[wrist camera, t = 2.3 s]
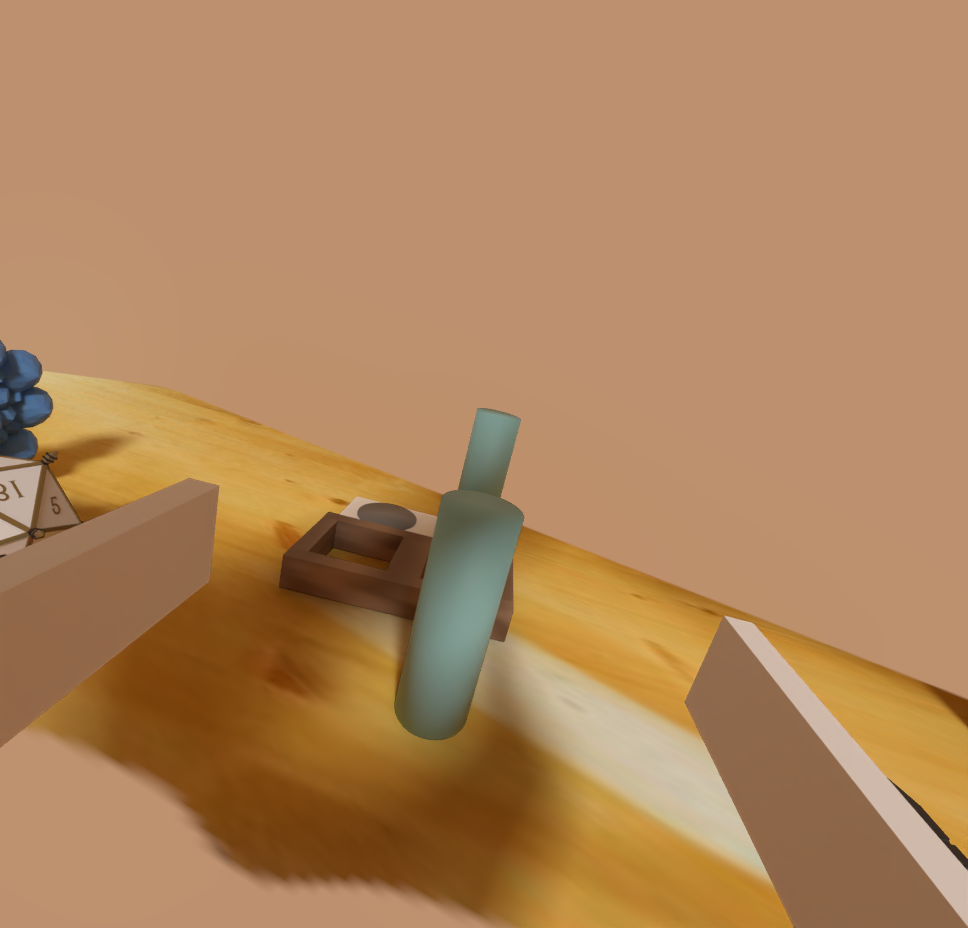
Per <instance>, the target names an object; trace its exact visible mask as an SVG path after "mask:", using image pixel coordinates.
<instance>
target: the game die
mask: <svg viewBox="0 0 968 928" xmlns="http://www.w3.org/2000/svg"><path fill="white" fill-rule="evenodd" d="M57 453H58V451H54V452H50V453H46V455H45V456H43V459H42V460H41V461H37V460H30V459H23V458H16V457H8V456H1V455H0V555H3V554H6V555H8V554H11V553H13V552H16V551H18V550H20V549H23V548H25V547H27V546H30V545H32V544H34V543H37V542H39V541H42V540H44V539H46V538H49V537H51V536H53V535H56V534H58V533H61V532H63V531H65V530H68V529H70V528H72V527H75V526H77V525H79V524H82V523H84V522H82V521H81V520H80V518H79V516H78V515H77V513H76V511H75V510H74V508H73V506H72V505H71V503H70V501H69V500H68V498H67V496H66V495H65V493H64V491H63V489H62V488H61V486H60V484H59V483H58V481H57V479H56V478H55V476H54V474H53V473H52V471H51V469H50V468H49V466H48V464H49V463H51V462H52V463H53V462H54V460H55V459H56V460H57ZM88 521H89V520H88ZM86 522H87V521H86Z"/></svg>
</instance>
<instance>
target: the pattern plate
mask: <svg viewBox="0 0 968 928" xmlns="http://www.w3.org/2000/svg"><path fill="white" fill-rule="evenodd" d="M340 515H344V516H348V517H352V518H356V519H360V520H364V521H369V522H373V523H377V524H381V525H385V526H389V527H393V528H397V529H401V530H405V531H409V532H413V533H417V534H421V535H425V536H429V537H433V534H434V529H435V525H436V521H437V516H434V515H430V514H426V513H422V512H418V511H414V510H410V509H406V508H403V507H401V506H397V505H394V504H388V503H381V502H377V501H373V500H369V499H365V498H361V497H356V498H355V499H354V500H353V501H352V502H351V503H350V504H349V505H348V506H347V507H346V508H345V509H344V510H343V511H342V512H341V513H340Z"/></svg>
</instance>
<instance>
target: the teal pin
mask: <svg viewBox="0 0 968 928" xmlns="http://www.w3.org/2000/svg"><path fill="white" fill-rule="evenodd" d="M523 521H524V515H523V513H522V511H520V510H519V508H517V507H516V506H515V505H513V504H512V503H510V502H508V501H506V500H504V499H502V498H499V497H496V496H493V495H490V494H487V493H482V492H477V491H470V490H455V491H450V492H447V493H445V494H444V495H443V496H442V499H441V503H440V508H439V512H438V516H437V521H436V525H435V529H434V534H433V538H432V542H431V547H430V551H429V556H428V560H427V564H426V569H425V573H424V577H423V582H422V586H421V590H420V595H419V599H418V604H417V608H416V612H415V617H414V621H413V625H412V630H411V634H410V638H409V643H408V647H407V652H406V656H405V660H404V665H403V669H402V673H401V678H400V682H399V686H398V691H397V695H396V700H395V713H396V716H397V718H398V720H399V722H400V723H401V724H402V726H403V727H404V728H405V729H406V730H408V731H409V732H410V733H412V734H414V735H416V736H418V737H421V738H424V739H429V740H442V739H446V738H449V737H452V736H454V735H455V734H457V733H458V732H459V731H460V730H461V729H462V728H463V726H464V725H465V723H466V720H467V716H468V713H469V709H470V706H471V702H472V699H473V695H474V692H475V688H476V685H477V681H478V678H479V674H480V671H481V667H482V664H483V660H484V657H485V653H486V650H487V646H488V643H489V639H490V636H491V633H492V629H493V626H494V622H495V619H496V615H497V612H498V608H499V605H500V601H501V598H502V594H503V591H504V587H505V584H506V580H507V577H508V573H509V570H510V566H511V563H512V559H513V556H514V552H515V549H516V545H517V542H518V538H519V535H520V531H521V528H522V524H523Z"/></svg>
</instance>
